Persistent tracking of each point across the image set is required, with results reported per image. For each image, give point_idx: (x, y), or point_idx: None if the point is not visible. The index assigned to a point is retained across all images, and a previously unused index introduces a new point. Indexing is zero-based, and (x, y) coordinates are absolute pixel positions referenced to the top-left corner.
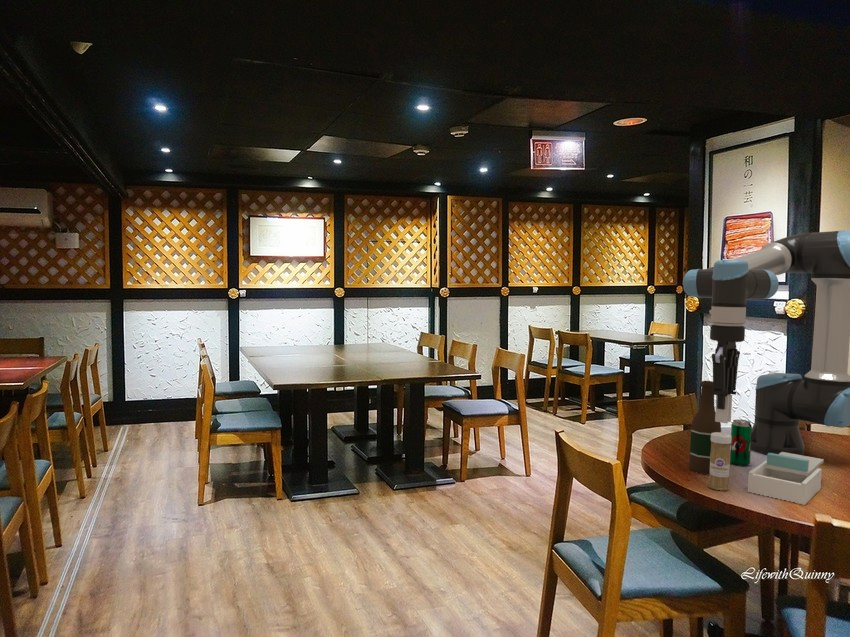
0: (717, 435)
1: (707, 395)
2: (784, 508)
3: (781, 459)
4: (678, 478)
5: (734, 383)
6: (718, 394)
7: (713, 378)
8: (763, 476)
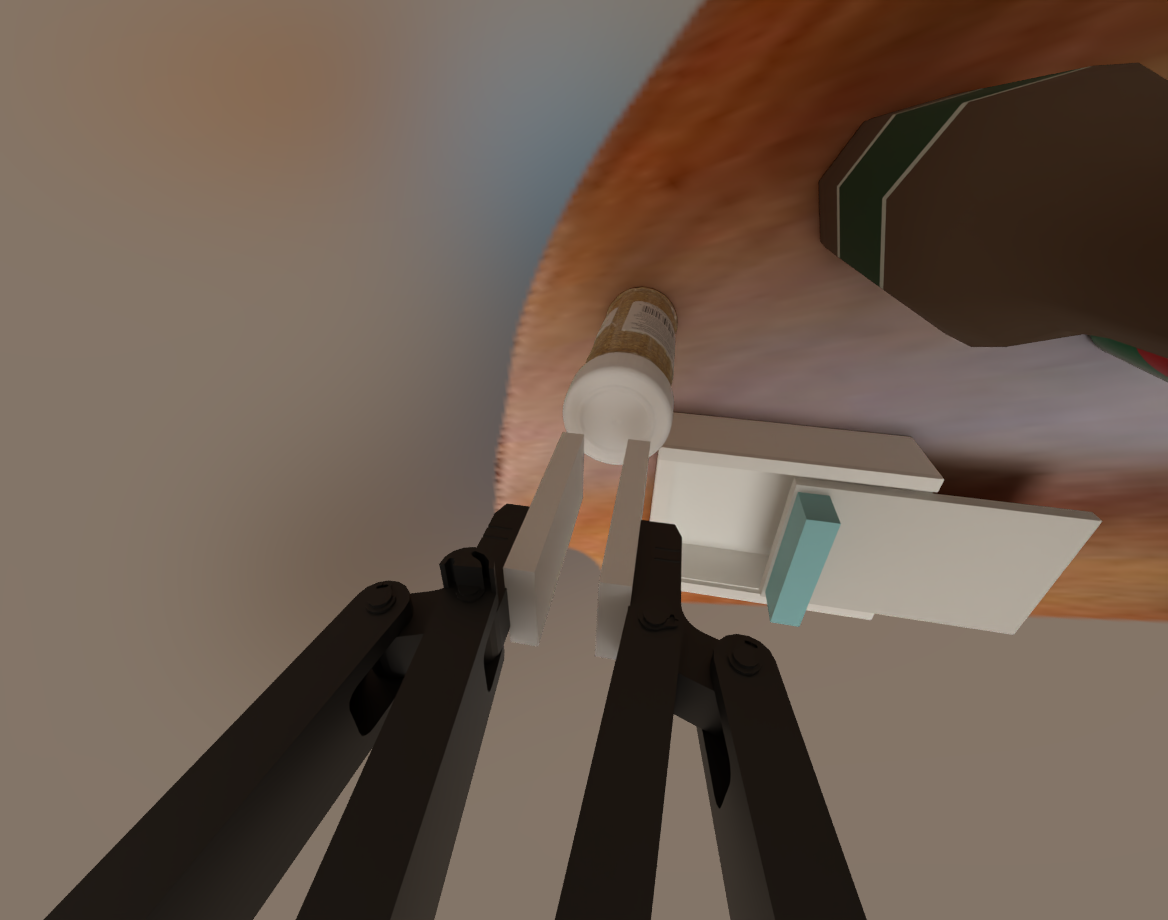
0: (569, 411)
1: None
2: (581, 505)
3: (789, 553)
4: (671, 132)
5: (706, 781)
6: (428, 602)
7: (225, 736)
8: (660, 486)
